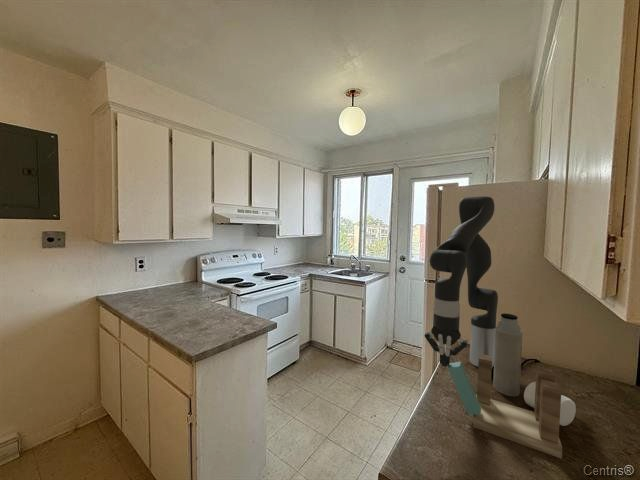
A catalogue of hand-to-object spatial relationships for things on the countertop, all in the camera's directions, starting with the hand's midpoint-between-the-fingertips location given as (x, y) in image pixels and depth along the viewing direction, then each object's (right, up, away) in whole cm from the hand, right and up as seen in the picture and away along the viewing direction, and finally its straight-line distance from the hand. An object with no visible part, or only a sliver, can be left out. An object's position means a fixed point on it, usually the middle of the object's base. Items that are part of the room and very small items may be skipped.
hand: (444, 365), depth 85 cm
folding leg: (+7, -13, -4) cm, 15 cm away
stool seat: (+18, -16, -6) cm, 24 cm away
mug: (+35, -16, 0) cm, 38 cm away
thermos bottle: (+29, -15, +13) cm, 35 cm away
